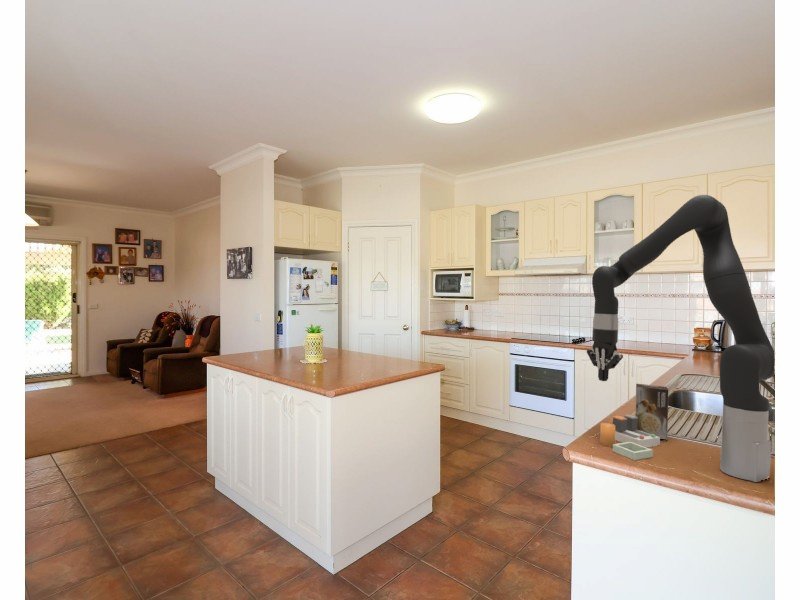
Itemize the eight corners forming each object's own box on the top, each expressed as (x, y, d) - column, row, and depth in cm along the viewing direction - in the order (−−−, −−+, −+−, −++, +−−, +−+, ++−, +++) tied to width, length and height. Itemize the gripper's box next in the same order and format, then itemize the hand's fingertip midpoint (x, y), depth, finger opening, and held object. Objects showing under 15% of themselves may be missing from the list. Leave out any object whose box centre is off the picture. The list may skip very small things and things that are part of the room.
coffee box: (666, 435, 144) (668, 386, 144) (667, 441, 139) (669, 390, 139) (634, 430, 149) (636, 383, 148) (634, 436, 143) (636, 386, 143)
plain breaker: (637, 429, 140) (638, 417, 140) (632, 430, 139) (632, 417, 139) (629, 426, 143) (629, 414, 143) (623, 427, 142) (624, 415, 142)
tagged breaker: (626, 430, 138) (627, 418, 138) (620, 431, 137) (621, 419, 137) (618, 428, 141) (618, 415, 141) (612, 428, 140) (612, 416, 140)
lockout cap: (617, 445, 133) (618, 425, 133) (608, 447, 131) (608, 427, 131) (606, 441, 136) (607, 422, 136) (597, 443, 135) (597, 423, 135)
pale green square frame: (652, 457, 124) (653, 449, 124) (634, 460, 121) (635, 452, 121) (630, 448, 131) (630, 441, 131) (612, 451, 128) (612, 444, 128)
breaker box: (659, 445, 134) (660, 434, 134) (639, 448, 131) (639, 437, 131) (627, 434, 144) (628, 424, 144) (607, 437, 141) (608, 426, 141)
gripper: (631, 329, 141) (628, 384, 141) (597, 326, 153) (595, 376, 153) (614, 329, 138) (611, 385, 138) (581, 326, 150) (578, 377, 150)
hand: (602, 380), depth 146 cm, fingers closed
